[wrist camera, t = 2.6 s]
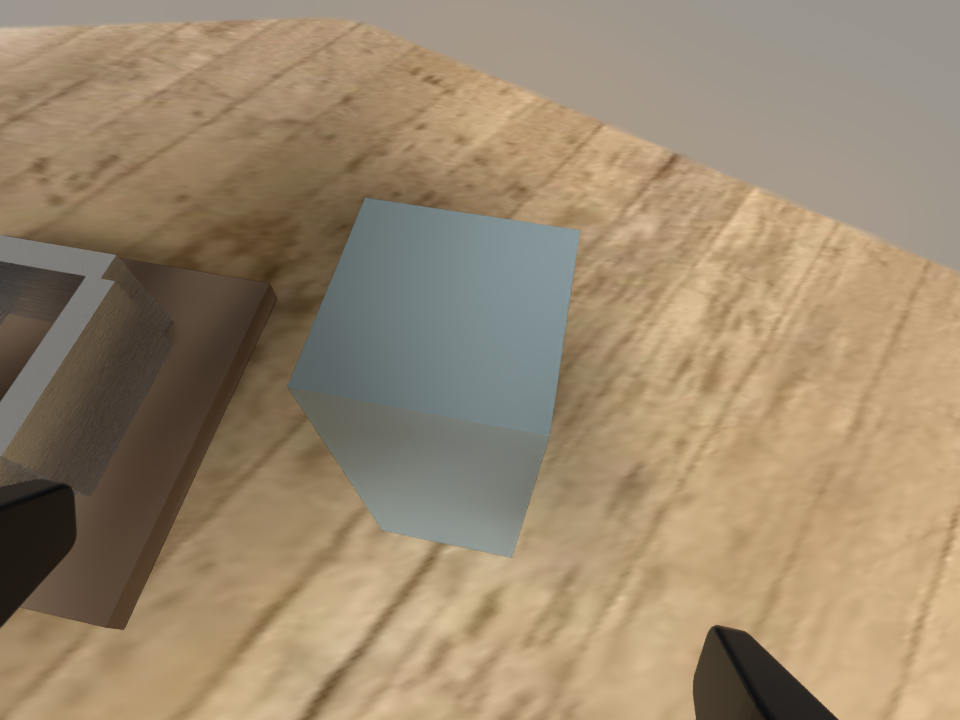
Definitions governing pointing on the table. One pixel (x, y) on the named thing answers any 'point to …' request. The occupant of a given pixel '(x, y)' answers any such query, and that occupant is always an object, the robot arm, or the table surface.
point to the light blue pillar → (440, 368)
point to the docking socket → (114, 402)
